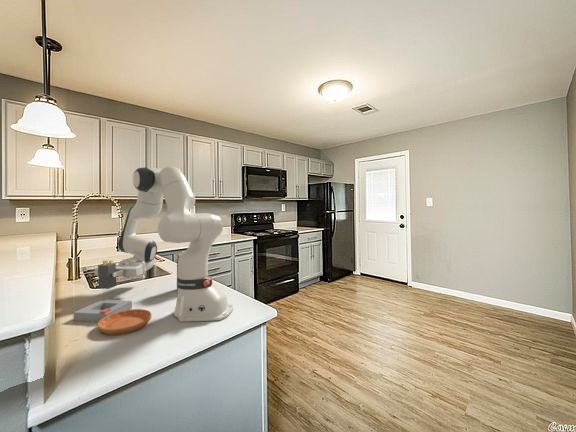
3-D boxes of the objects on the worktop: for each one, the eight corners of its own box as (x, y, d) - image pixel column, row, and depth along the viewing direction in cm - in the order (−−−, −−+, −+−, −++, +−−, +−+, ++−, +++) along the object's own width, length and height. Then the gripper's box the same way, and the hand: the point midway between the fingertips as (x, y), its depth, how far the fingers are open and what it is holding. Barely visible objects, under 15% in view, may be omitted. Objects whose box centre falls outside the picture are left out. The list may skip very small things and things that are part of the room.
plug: (116, 285, 114) (115, 259, 114) (108, 288, 109) (107, 261, 109) (107, 285, 114) (106, 259, 114) (98, 288, 110) (97, 261, 110)
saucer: (157, 327, 90) (157, 318, 90) (101, 343, 79) (101, 333, 79) (144, 312, 102) (144, 305, 101) (94, 325, 91) (94, 317, 91)
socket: (132, 308, 105) (131, 299, 105) (106, 322, 93) (106, 312, 92) (102, 306, 107) (102, 297, 107) (73, 320, 94) (73, 310, 94)
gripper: (108, 260, 126) (83, 267, 112) (148, 261, 124) (127, 268, 110) (108, 273, 126) (83, 281, 112) (148, 274, 124) (127, 282, 110)
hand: (105, 275), depth 111 cm, fingers closed on plug, 4 cm apart
